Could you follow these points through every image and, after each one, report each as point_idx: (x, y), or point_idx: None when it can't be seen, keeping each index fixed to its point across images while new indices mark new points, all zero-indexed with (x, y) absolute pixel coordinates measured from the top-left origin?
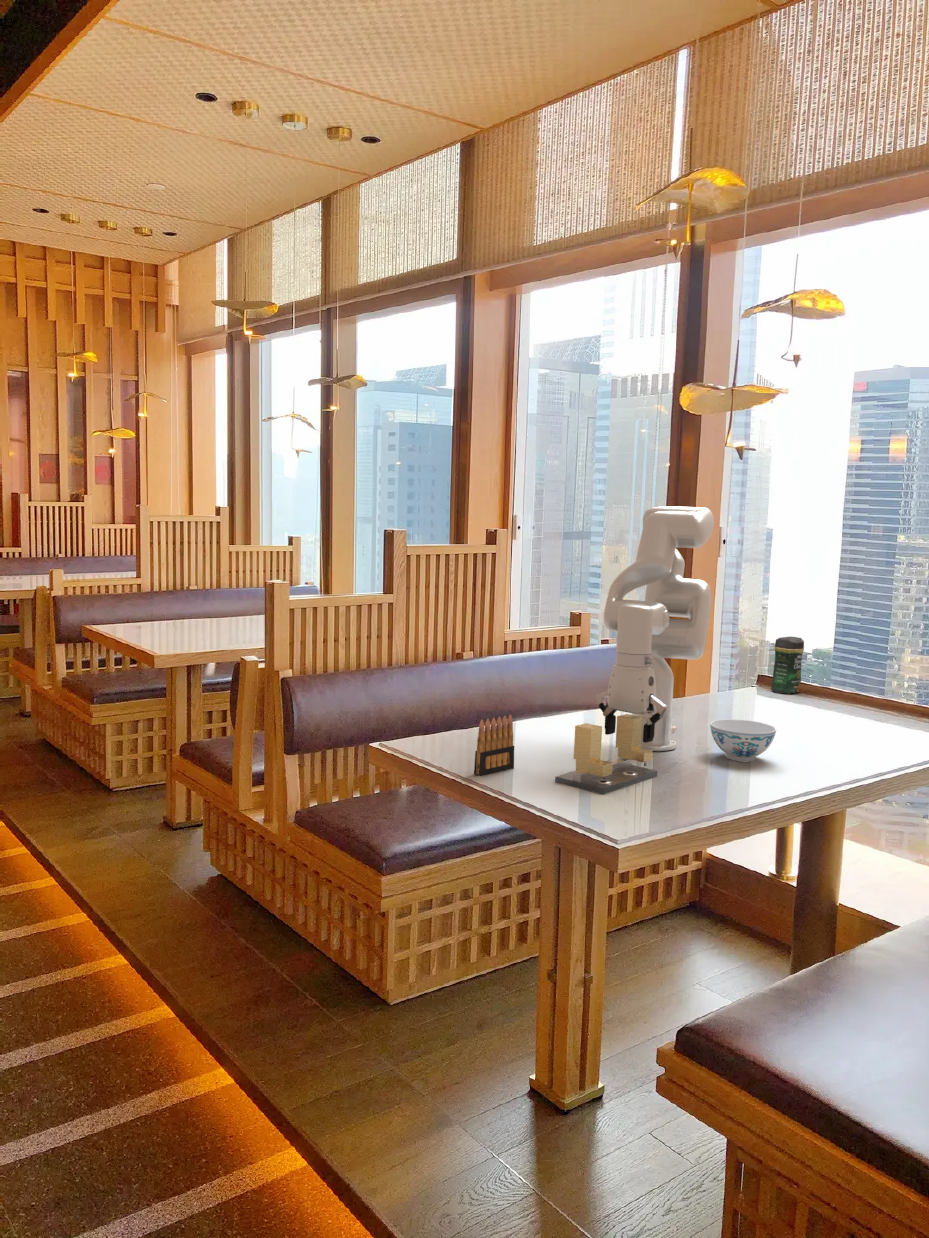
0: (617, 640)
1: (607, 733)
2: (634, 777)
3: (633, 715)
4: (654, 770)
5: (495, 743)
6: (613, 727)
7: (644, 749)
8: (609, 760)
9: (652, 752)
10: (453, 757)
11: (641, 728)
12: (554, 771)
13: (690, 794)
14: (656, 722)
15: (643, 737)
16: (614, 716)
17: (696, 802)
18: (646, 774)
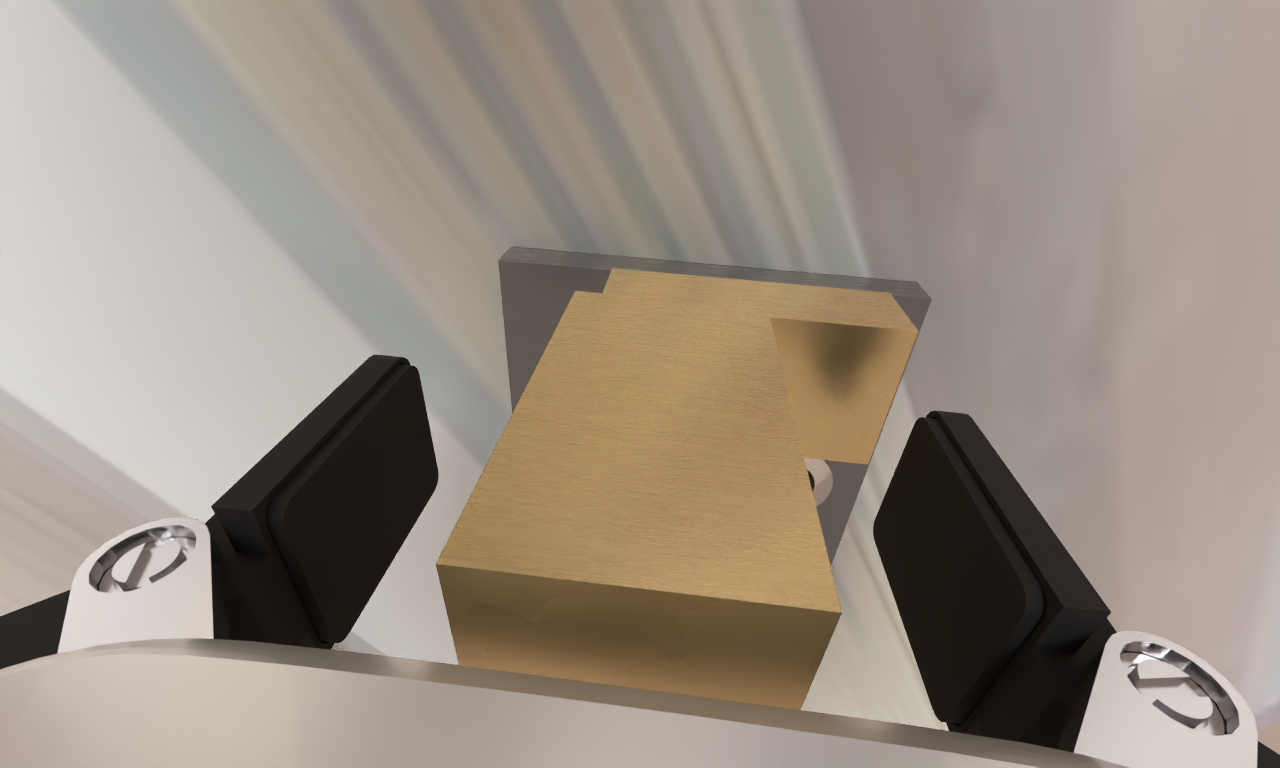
0: None
1: (429, 486)
2: (836, 524)
3: (626, 612)
4: (908, 311)
5: None
6: (389, 438)
7: (824, 340)
8: (505, 281)
9: (911, 322)
10: (46, 590)
11: (797, 453)
12: (421, 541)
13: (1194, 507)
14: (1188, 676)
15: (891, 570)
16: (285, 540)
17: (1224, 595)
18: (881, 430)
